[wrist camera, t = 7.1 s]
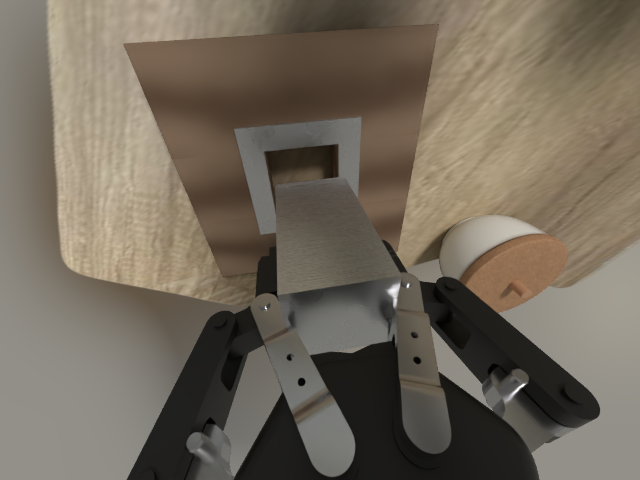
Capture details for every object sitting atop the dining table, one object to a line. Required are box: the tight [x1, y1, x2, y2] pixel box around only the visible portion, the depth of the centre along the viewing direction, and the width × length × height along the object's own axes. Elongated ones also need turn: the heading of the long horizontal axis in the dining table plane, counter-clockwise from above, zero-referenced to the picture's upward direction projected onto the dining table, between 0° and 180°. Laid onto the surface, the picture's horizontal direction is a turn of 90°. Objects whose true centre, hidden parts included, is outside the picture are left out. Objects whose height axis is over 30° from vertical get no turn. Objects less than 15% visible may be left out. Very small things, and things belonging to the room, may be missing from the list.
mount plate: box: [124, 24, 439, 277], centre depth 25 cm, size 22×22×3 cm
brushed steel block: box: [275, 177, 402, 355], centre depth 15 cm, size 5×5×10 cm
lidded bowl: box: [439, 215, 568, 313], centre depth 32 cm, size 13×13×11 cm
